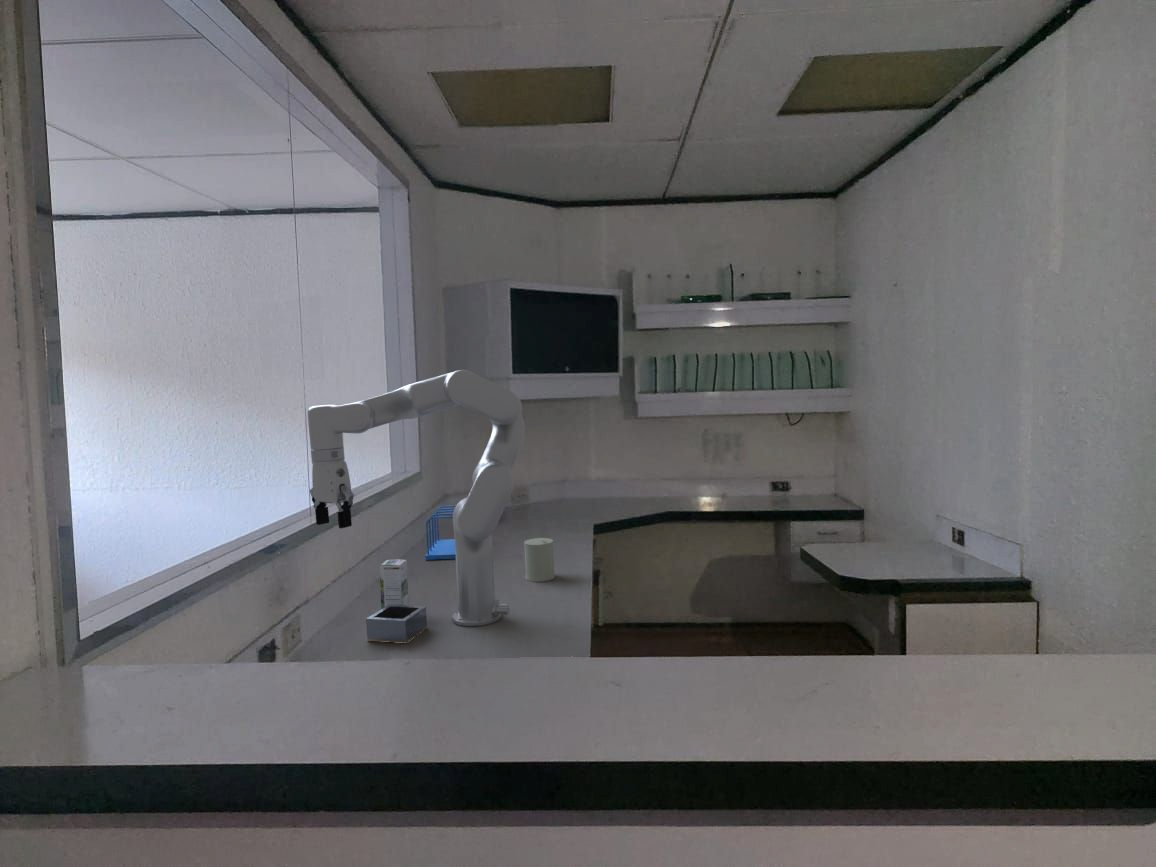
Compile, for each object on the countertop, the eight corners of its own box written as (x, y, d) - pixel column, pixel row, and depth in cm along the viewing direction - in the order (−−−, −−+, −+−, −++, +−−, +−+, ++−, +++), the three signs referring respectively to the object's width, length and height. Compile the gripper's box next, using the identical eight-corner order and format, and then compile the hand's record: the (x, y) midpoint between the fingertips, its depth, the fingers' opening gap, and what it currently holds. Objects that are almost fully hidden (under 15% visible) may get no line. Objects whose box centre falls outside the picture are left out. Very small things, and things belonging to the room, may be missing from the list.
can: (539, 583, 204) (538, 544, 203) (519, 578, 210) (517, 540, 209) (561, 576, 211) (559, 538, 210) (540, 571, 217) (538, 535, 216)
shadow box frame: (427, 628, 169) (425, 606, 169) (406, 644, 159) (405, 620, 159) (390, 626, 172) (388, 604, 171) (367, 641, 162) (366, 618, 161)
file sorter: (474, 558, 238) (472, 515, 236) (425, 561, 237) (422, 518, 236) (481, 542, 262) (479, 503, 261) (436, 544, 262) (434, 505, 261)
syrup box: (388, 612, 183) (385, 559, 182) (409, 611, 183) (406, 558, 182) (381, 619, 177) (378, 565, 176) (403, 618, 177) (400, 564, 176)
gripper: (362, 454, 161) (368, 525, 162) (322, 453, 172) (328, 519, 173) (334, 458, 155) (340, 532, 156) (294, 457, 166) (300, 525, 167)
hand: (333, 525), depth 165 cm, fingers open, 9 cm apart
